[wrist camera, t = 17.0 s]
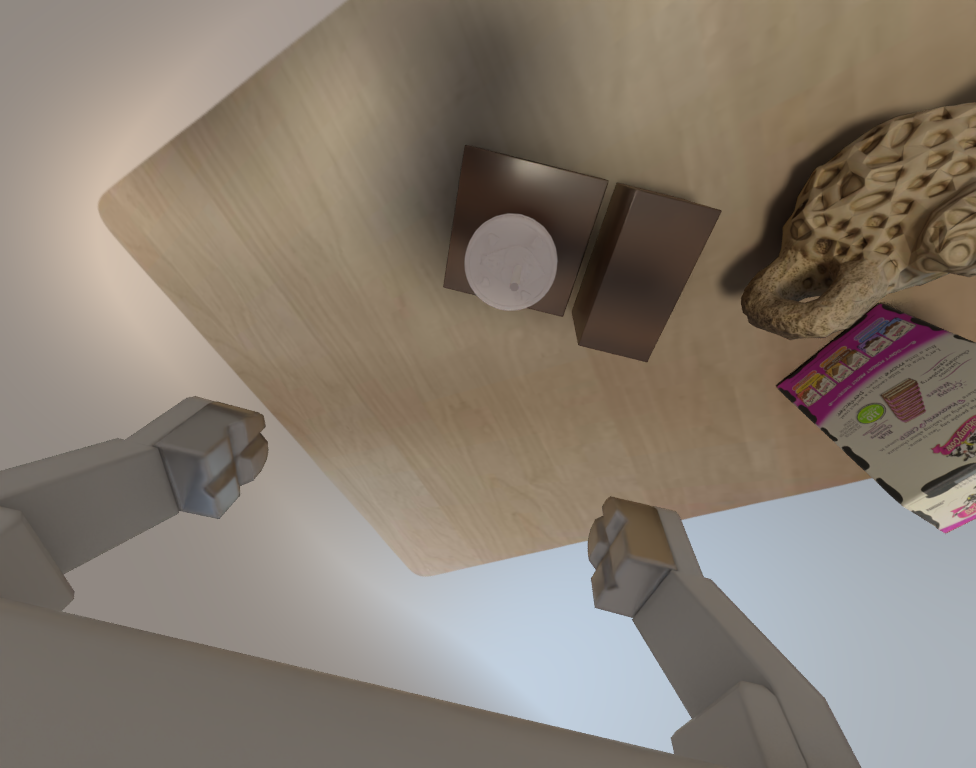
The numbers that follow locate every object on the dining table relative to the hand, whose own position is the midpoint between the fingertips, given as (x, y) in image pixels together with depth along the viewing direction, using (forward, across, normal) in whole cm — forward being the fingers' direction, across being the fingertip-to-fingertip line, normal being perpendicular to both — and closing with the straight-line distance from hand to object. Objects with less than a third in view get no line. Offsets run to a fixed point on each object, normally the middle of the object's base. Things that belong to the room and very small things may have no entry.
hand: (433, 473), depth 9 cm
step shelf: (+31, -4, 0) cm, 32 cm away
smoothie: (+30, 0, 0) cm, 30 cm away
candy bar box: (+32, -35, +4) cm, 47 cm away
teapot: (+32, -26, -8) cm, 41 cm away
